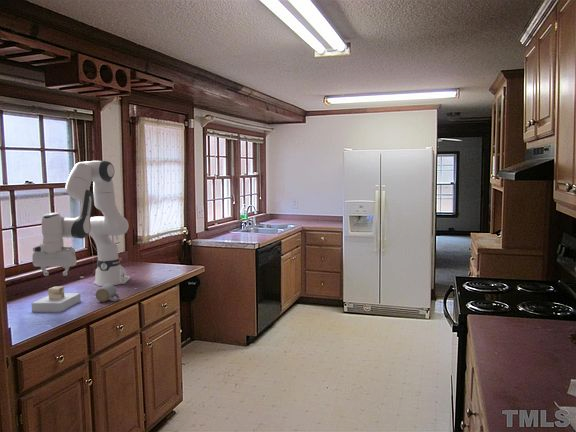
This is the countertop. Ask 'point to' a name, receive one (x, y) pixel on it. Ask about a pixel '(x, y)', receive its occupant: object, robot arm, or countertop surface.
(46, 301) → the grey platform
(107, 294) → the ceramic mug
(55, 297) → the birch cube
